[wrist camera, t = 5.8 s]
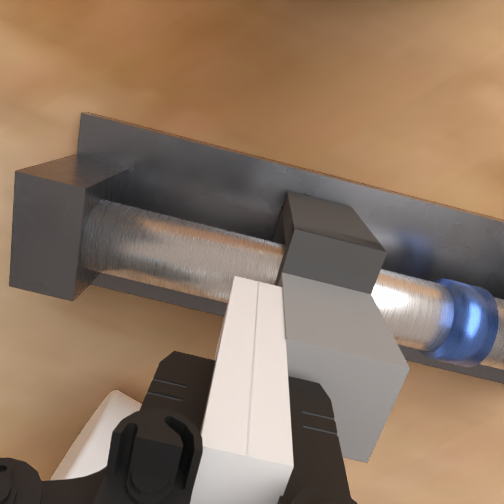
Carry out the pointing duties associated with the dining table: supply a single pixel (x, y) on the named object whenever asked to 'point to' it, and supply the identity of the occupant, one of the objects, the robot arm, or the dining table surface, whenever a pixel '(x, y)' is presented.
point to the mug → (96, 438)
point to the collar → (338, 317)
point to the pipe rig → (248, 237)
